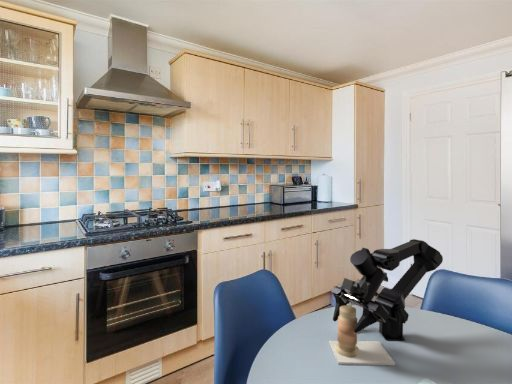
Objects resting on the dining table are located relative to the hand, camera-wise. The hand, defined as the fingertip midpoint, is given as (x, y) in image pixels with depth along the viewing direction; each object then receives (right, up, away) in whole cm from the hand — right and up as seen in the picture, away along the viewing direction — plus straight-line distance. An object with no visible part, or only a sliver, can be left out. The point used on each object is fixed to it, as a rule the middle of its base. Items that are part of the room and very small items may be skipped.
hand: (343, 326), depth 94 cm
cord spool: (+1, -8, +1) cm, 8 cm away
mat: (+5, -9, +1) cm, 10 cm away
